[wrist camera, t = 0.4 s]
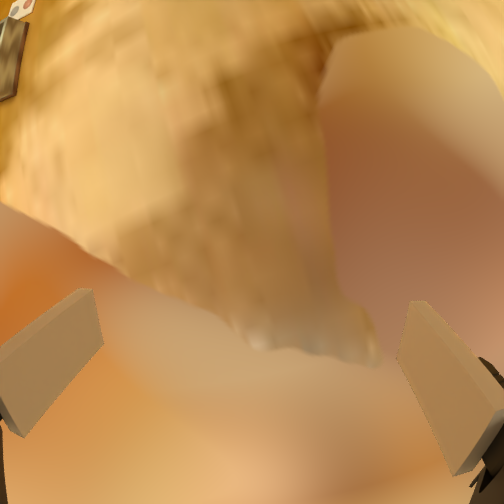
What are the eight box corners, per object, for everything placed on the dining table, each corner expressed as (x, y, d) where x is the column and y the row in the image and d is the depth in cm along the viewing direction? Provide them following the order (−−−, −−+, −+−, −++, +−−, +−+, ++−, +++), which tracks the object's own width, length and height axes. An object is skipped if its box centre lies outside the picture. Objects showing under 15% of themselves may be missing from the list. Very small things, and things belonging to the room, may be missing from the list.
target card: (13, 4, 30) (11, 3, 30) (39, -11, 29) (38, -12, 29) (6, 27, 32) (4, 26, 31) (32, 12, 31) (30, 11, 31)
